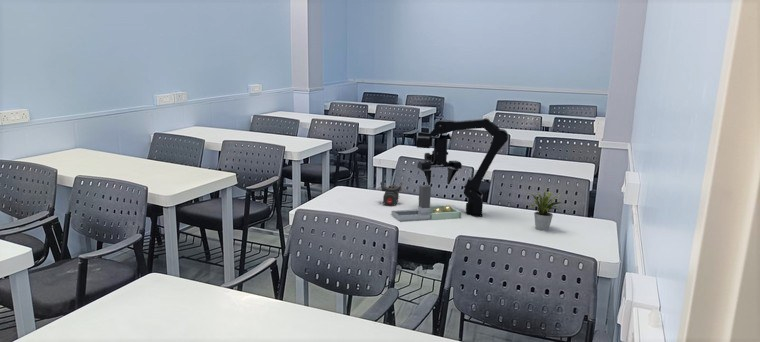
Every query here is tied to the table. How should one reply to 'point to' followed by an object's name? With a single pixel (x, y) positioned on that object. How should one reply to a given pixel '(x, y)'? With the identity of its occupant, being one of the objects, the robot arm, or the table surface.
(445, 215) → the tray
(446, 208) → the gold ball
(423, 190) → the tall gray pillar
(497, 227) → the table surface
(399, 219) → the slot rail
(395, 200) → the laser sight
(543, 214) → the house plant
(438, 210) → the brass sphere
